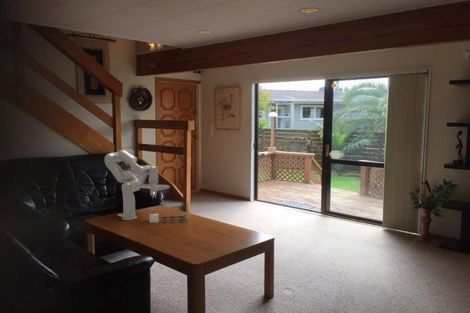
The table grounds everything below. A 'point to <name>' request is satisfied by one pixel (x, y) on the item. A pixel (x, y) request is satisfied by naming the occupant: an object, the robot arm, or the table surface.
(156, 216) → the cream block
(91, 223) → the table surface
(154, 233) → the table surface
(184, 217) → the channel board
